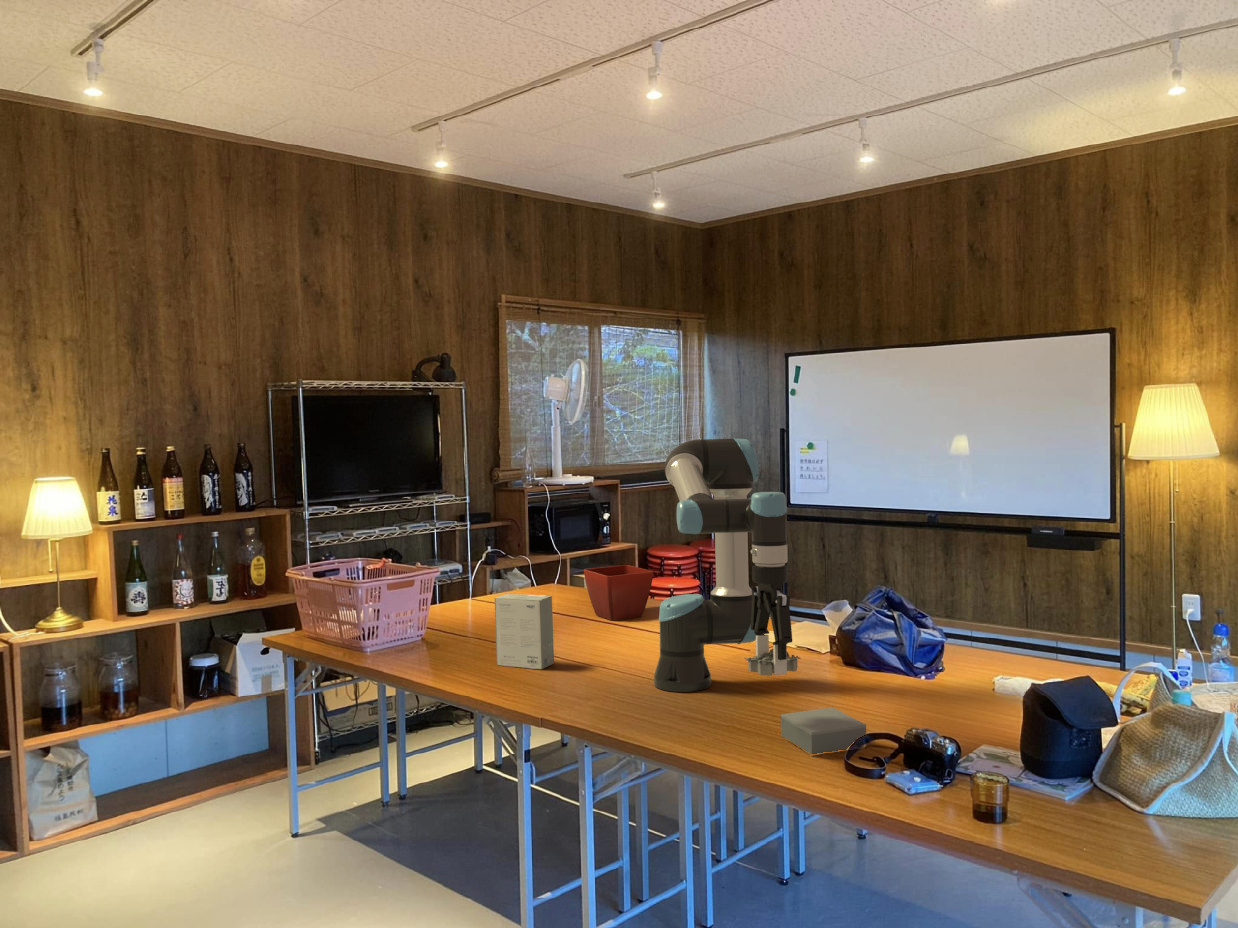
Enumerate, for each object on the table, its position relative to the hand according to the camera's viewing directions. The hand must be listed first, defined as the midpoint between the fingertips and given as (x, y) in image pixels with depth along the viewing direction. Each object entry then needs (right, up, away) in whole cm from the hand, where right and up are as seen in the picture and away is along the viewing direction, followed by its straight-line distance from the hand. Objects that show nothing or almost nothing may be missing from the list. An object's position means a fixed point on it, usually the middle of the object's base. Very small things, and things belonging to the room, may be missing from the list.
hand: (771, 669), depth 201 cm
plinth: (+11, -15, -1) cm, 19 cm away
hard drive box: (-60, -14, +70) cm, 93 cm away
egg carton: (+1, -1, 0) cm, 1 cm away
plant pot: (-33, -11, +136) cm, 140 cm away
